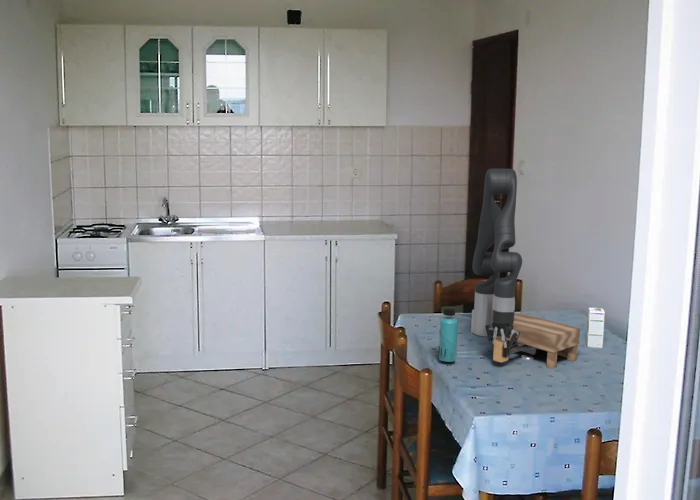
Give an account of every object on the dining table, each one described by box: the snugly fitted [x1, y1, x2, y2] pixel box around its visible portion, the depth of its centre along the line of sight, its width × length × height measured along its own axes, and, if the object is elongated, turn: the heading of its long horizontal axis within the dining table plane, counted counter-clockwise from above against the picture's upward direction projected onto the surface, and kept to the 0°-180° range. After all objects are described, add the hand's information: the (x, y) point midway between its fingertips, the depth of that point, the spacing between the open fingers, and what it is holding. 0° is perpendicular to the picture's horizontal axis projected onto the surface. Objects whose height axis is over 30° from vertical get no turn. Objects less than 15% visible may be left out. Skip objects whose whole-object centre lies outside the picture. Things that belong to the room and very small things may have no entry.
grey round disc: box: [521, 353, 535, 361], centre depth 284 cm, size 4×4×1 cm
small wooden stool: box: [501, 312, 581, 369], centre depth 286 cm, size 16×26×12 cm, turn 42°
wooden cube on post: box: [492, 338, 537, 363], centre depth 278 cm, size 18×7×8 cm, turn 131°
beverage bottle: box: [438, 307, 459, 363], centre depth 275 cm, size 6×7×20 cm
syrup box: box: [585, 307, 606, 349], centre depth 300 cm, size 6×6×14 cm
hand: (500, 355), depth 273 cm, fingers closed on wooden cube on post, 3 cm apart
